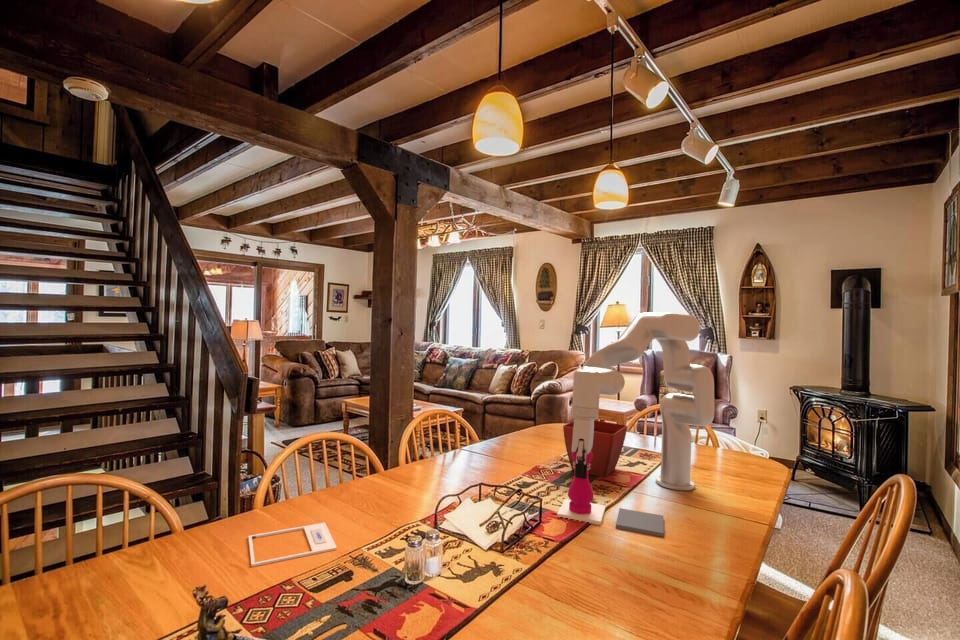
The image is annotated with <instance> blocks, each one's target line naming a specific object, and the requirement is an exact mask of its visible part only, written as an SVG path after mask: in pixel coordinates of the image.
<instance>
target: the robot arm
mask: <svg viewBox="0 0 960 640" xmlns="http://www.w3.org/2000/svg"><path fill="white" fill-rule="evenodd" d="M700 332H701V325H700V322H699V320H698V318H697V317H695V316H693V315H691V314H682V313H681V314H680V313H676V312H675V313H673V312H659V311H658V312H656V311H655V312H654V311H652V312H651V311H648V312H640V313H638V314H637V315H636V316H635V317H634V318H633V319H632V321H631V322H630V323H629V325H628V326H627V327H626V329H625V330H624V331H623V332H622V334H621V335H620V336H619V337H618V339H617V340H615V341H614V342H611V343H610V344H607V345H606V346H604V347H602V348H600V349H598V350H597V351H596V352H594V353H593V354H592V355H590V357H588V359H587V360H586V362H585V363H584V364H583V365H582V366H581V368H580V369H578V368H577V369H576V370H575V371H574V372H573V380H572V381H573V382H572V384H573V385H572V404H571V417H572V418H574V420H573V421H574V427H573V439H572V452H573V453H574V452H576V450H577V456H576V464H575V471H574V473H575V477H576V478H583V479H586V478H587V464H586V460H587V454H589V453H590V451H591V449H592V447H593V437H594V420H596V421H597V420H599V410H600V395H610V396H613V395H617V394H619V393H621V392H623V389H624V387H625V385H626V384H625V382H626V381H625V377H624V375H623V374H622V372H620V371H618V370H617V369H611V368H612V367H614V366H617V365H622V364H626V363H630V362H633V361H636V360H638V359H640V357H642V355H643V354H644V352H645V350H646V349H647V347H649V345H650V343H652V342H653V340H656V341H657V342H658V344H659V345H660V347H661V349H662V361H663V365H662V366H663V380H664V381H663V382H664V384H665V386H666V387H667V388H668V389H671V390H674V391H678V393H677V392H669V393H666V394H665V395H663V396H662V398H660V403H659V410H660V415H661V416H660V417H661V428H662V429H661V451H660V453H661V457H660V458H661V459H660V475H658V476H656V477H655V483H656V484H657V485H659V486H661V487H663V488H666V489H670V490H676V491H692V490H694V489H695V488H696V483H695V482H694V481H692V480H691V469H692V468H691V467H692V466H691V464H692V463H691V462H692V461H691V460H692V442H693V441H692V439H693V438H692V437H693V436H692V432H691V429H690V426H689V425H691V426H698V427H708V426H710V425H712V423H713V422H714V418H715V380H714V375H713V373H712V371H711V369H710V368H709V367H707V366H705V365H701V364H693V363H691V357H690V356H691V355H690V354H691V353H690V347H689V344H688V343H687V342H691V341H694V340H695V339H697V338H698V337H699V334H700ZM679 392H686V393H692V395H690V394H683V393H679ZM585 450H586V451H585ZM583 451H585V453H583ZM583 455H585V456H584V457H583ZM589 472H590V469H589Z"/></svg>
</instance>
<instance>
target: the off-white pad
mask: <svg viewBox="0 0 960 640" xmlns="http://www.w3.org/2000/svg"><path fill="white" fill-rule="evenodd" d="M570 501H571V500H570V498H569V499H568V498H565V499H564V500H563V502H562V505H561V506H560V508H559V509H558V511H557V513H556V514H557V515H556V517H557V518H560V517H563V518H562V519H565V518H568V519H567V520H570V519H575V520H574V521H576V520H579V521H578V522H581V521H585V522H584V523H586V522H589V523H588V524H593V525H597V526H601V525H602V522H603V519H604V515H605V511H606V505H604V504H598V503H594V502H593V503H592V502H590V504H591V512H590V513H588V514H578V513H574V512H572V511H571V510H570V509H569V503H570Z"/></svg>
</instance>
